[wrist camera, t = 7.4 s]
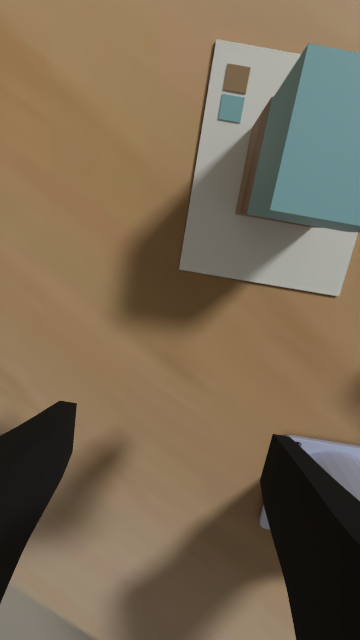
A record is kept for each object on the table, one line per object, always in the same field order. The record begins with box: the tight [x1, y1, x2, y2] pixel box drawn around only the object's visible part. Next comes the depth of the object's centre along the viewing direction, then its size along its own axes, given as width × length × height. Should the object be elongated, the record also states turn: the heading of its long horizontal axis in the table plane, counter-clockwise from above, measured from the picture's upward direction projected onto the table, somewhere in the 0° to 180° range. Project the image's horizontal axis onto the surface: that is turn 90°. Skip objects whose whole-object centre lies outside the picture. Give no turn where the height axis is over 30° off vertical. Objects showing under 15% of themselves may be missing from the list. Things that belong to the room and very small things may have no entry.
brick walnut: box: [235, 97, 321, 228], centre depth 17 cm, size 5×5×5 cm
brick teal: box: [247, 43, 360, 232], centre depth 13 cm, size 5×5×5 cm
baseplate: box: [179, 39, 358, 296], centre depth 19 cm, size 10×12×1 cm
